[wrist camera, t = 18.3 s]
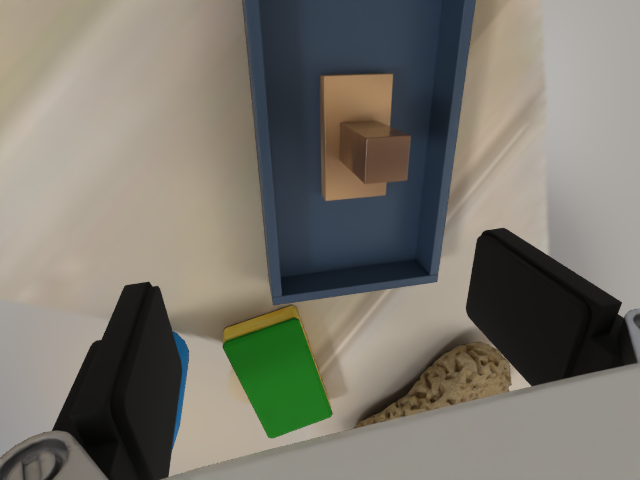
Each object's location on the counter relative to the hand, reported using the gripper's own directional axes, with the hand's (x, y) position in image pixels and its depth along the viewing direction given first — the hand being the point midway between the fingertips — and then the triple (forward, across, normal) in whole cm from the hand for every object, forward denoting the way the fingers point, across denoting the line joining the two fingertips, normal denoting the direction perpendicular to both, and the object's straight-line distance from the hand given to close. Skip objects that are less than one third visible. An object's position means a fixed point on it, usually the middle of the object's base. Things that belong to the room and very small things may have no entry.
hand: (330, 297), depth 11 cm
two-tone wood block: (+20, -7, 0) cm, 21 cm away
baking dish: (+20, -7, 0) cm, 21 cm away
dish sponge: (+20, +1, +22) cm, 30 cm away
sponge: (+20, -15, +31) cm, 40 cm away
